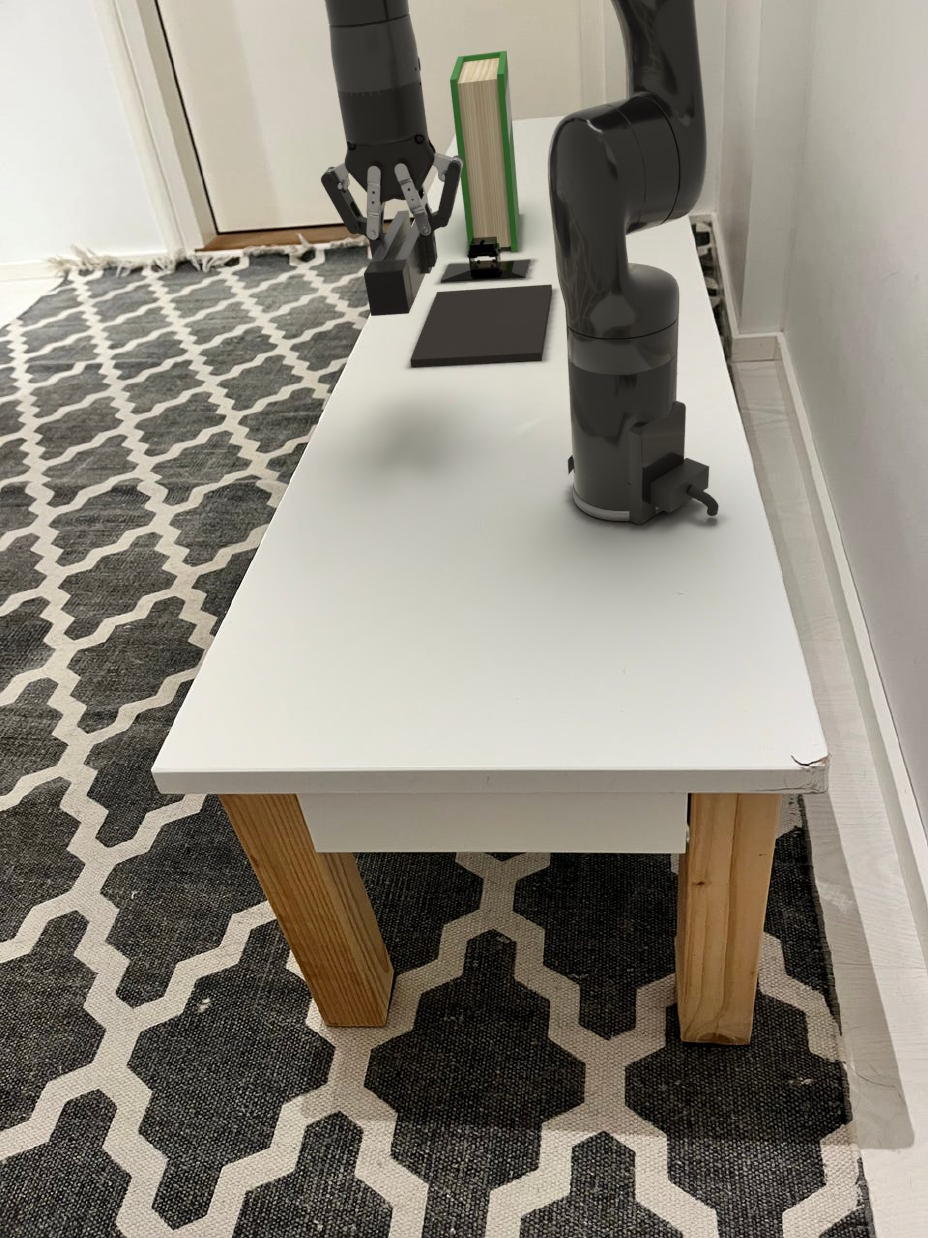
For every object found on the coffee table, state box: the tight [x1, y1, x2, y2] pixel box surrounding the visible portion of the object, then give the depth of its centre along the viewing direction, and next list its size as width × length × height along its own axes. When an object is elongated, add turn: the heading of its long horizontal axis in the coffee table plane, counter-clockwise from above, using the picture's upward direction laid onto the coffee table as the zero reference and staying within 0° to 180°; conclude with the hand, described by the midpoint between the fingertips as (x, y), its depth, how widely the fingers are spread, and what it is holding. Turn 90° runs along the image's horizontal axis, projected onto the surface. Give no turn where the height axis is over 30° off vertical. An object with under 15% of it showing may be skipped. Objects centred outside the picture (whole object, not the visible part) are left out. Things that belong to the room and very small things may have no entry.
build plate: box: [440, 237, 532, 284], centre depth 139 cm, size 12×7×5 cm, turn 80°
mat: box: [409, 283, 553, 368], centre depth 125 cm, size 22×16×1 cm
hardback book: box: [449, 50, 520, 253], centre depth 146 cm, size 18×7×24 cm, turn 177°
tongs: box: [363, 207, 437, 317], centre depth 94 cm, size 18×4×4 cm, turn 173°
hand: (407, 271), depth 96 cm, fingers closed on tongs, 3 cm apart
